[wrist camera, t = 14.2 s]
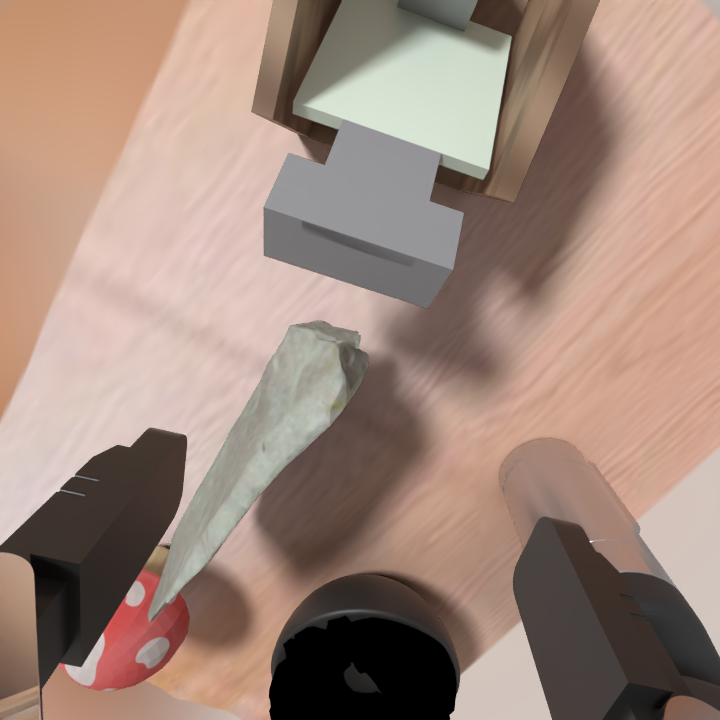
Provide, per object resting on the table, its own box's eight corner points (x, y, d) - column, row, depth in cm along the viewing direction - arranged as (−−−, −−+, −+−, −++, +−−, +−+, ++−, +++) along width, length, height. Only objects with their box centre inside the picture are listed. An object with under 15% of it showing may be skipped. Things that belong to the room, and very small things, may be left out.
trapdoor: (443, 313, 27) (471, 276, 23) (246, 250, 26) (244, 200, 22) (487, 86, 36) (512, 34, 33) (344, 34, 36) (353, -25, 32)
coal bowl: (471, 627, 58) (508, 821, 41) (333, 666, 62) (313, 856, 45) (409, 513, 52) (422, 684, 34) (259, 564, 56) (203, 740, 39)
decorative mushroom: (119, 494, 53) (25, 607, 39) (229, 532, 54) (176, 655, 40) (99, 572, 58) (9, 697, 44) (200, 605, 59) (144, 737, 45)
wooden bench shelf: (470, 193, 39) (514, 202, 26) (297, 133, 38) (251, 111, 25) (558, -33, 33) (672, -170, 20) (354, -112, 32) (334, -311, 19)
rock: (323, 271, 42) (275, 347, 23) (379, 308, 43) (376, 408, 24) (201, 469, 51) (96, 636, 32) (250, 495, 52) (176, 672, 34)
